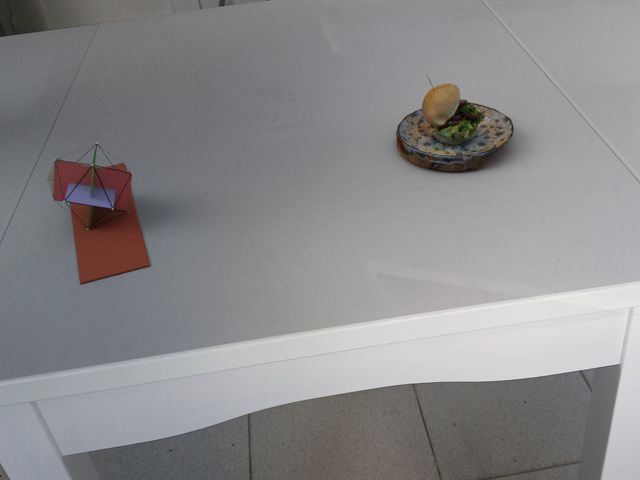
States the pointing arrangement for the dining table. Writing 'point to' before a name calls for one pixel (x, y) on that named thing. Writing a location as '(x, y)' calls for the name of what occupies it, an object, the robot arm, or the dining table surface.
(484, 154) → the burger
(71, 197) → the geometric puzzle
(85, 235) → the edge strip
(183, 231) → the dining table surface
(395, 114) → the dining table surface
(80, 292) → the dining table surface
